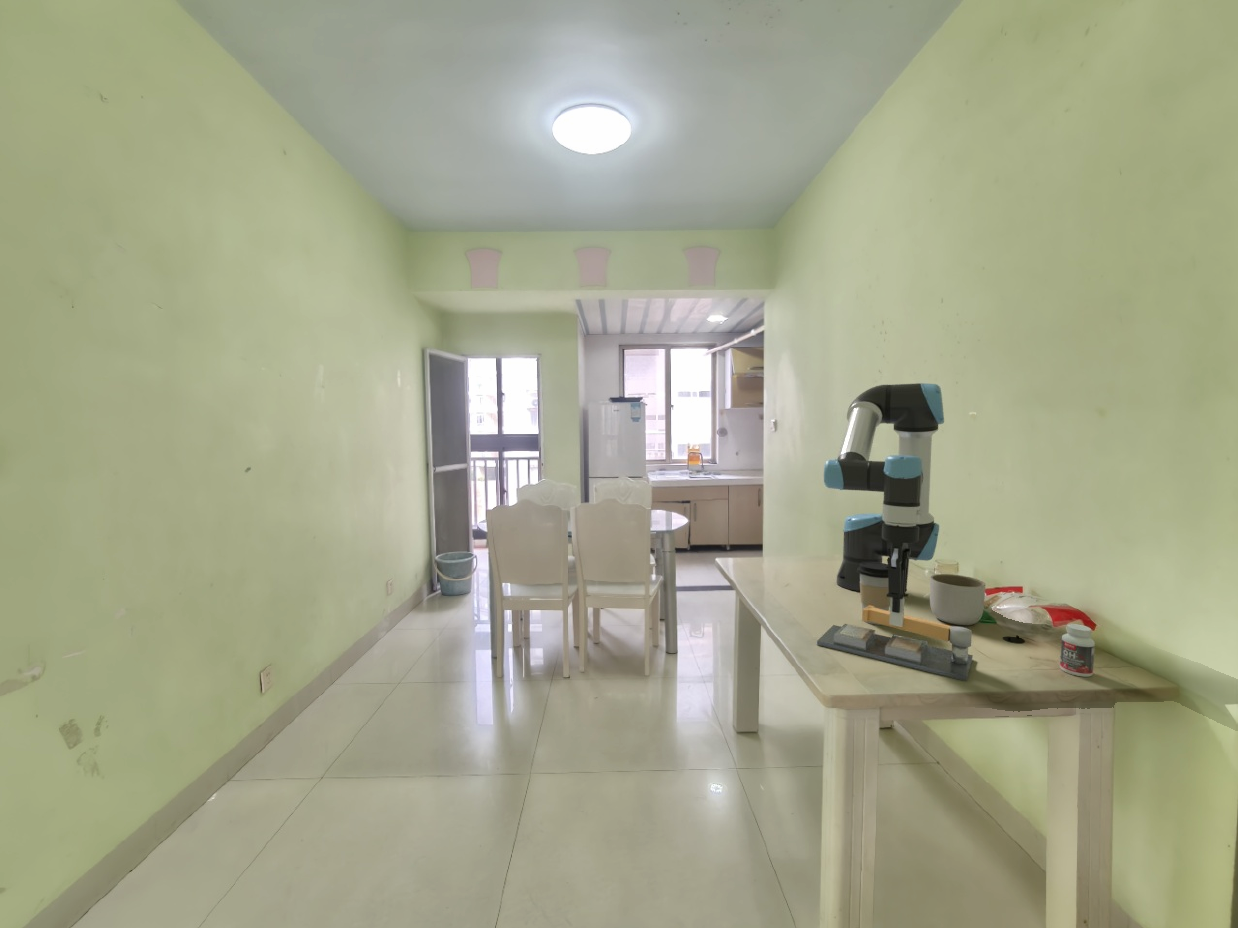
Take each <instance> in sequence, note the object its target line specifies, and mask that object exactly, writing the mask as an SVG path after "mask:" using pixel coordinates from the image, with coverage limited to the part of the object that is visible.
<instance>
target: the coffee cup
mask: <svg viewBox="0 0 1238 928" xmlns="http://www.w3.org/2000/svg"><path fill="white" fill-rule="evenodd" d="M857 569H858V570H857V572H858V573H860V591H859V593H860V603H861V611H863V609H864V608H866V607H867V606H869V605H870V606H874V607H875V608H878V609H882V610H886V611H890V597H887V594H888V593H889V589H888V563H884V562H882V563H879V562H863V563H861V564H860V567H858V568H857ZM864 622H865V623H868V624H871V625H877V626H883V625H882V624H878V623H874V622H870V621H868V622H866V621H864Z"/></svg>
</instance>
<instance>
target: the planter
mask: <svg viewBox="0 0 1238 928" xmlns="http://www.w3.org/2000/svg"><path fill="white" fill-rule="evenodd" d="M985 595H986V583H985V582H984V581H983V580H980V579H978V578H975V577H970V576H966V575H962V574H961V575H959V574H950V573H938V574H937V573H936V574H932V575H931V576H930V581H929V606H930V609H931V610H930V611H931V612H932V614H933V615H934V617H935V618H937V619H938V620H940V621H942V622H944V623H947V624H951V625H955V626H956V625H957V626H971V625H975V624H976V623H978V622H979V621H980V620H981V618H982V616H983V614H984V610H985V609H984V607H985V597H986V596H985Z"/></svg>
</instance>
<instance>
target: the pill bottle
mask: <svg viewBox="0 0 1238 928" xmlns="http://www.w3.org/2000/svg"><path fill="white" fill-rule="evenodd" d="M1065 631H1066V633H1064V634H1062V636H1061V641H1060V642H1061V645H1060V655H1059V657H1060V659H1059V668H1060V669H1061V670H1062V671H1063V672H1065V673H1067V674H1069V675H1073V676H1078V677H1081V678H1082V677H1084V678H1088V677H1091V676H1093V673H1094V662H1095V661H1094V660H1095V647H1096V642H1095V640H1094V639H1093V638H1091V637H1092V629H1091V628H1090V627H1089V626H1085V625H1082V624H1076V623H1067V625H1066V629H1065Z"/></svg>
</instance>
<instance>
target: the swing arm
mask: <svg viewBox="0 0 1238 928" xmlns="http://www.w3.org/2000/svg"><path fill="white" fill-rule="evenodd" d="M861 611H862V610H861ZM861 618H862V620H861V621H863V622H865V621H866V622H865V623H867V622H868V621H870V622H874V623H878V624H882V625H881V626H887V627H890V628H894V629H897V630H900V631H904V632H905V631H906V632H909V633H913V634H916V635H921V636H925V637H928V638H932V639H936V640H940V641H944V642H949V644H951V645H952V644H953V645H956V646H960V647H968V648H970V647H971V646H972V639H973V637H972V636H973V633H972V632H973V631H972V630H971V629H969V628H966V627H963V626H956V625H955V626H952V625H948V624H944V623H939V622H936V621H931V620H927V619H923V618H918V617H914V616H909V615H907V614H904V622H903V627H899V626H894V625H889V618H890V610H889V611H886V610H882V609H878V608H875V607H874V606H870V605H869V606H867V607H866V608H864V609H863V611H862V615H861Z"/></svg>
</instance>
